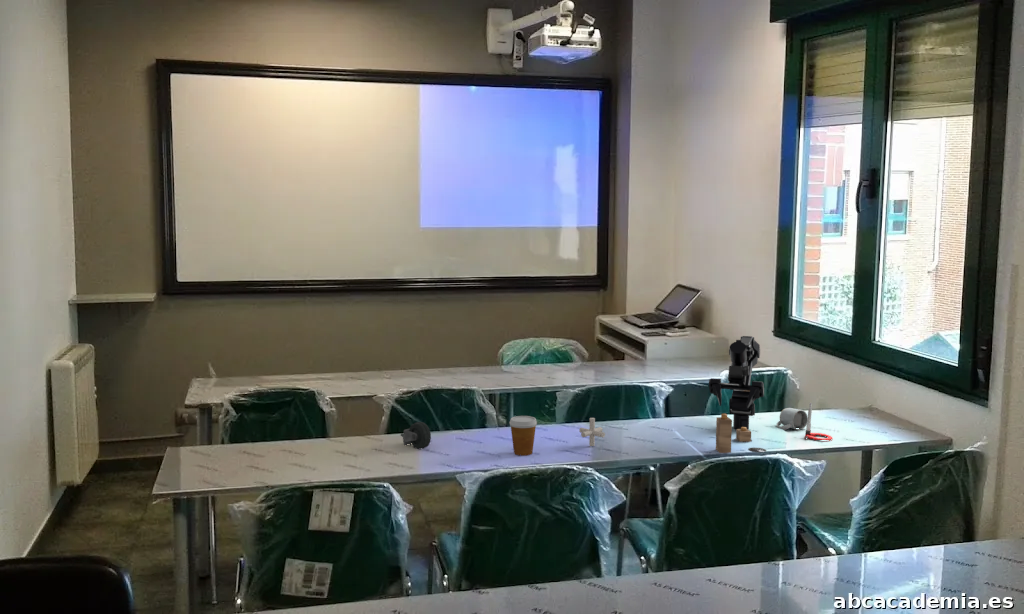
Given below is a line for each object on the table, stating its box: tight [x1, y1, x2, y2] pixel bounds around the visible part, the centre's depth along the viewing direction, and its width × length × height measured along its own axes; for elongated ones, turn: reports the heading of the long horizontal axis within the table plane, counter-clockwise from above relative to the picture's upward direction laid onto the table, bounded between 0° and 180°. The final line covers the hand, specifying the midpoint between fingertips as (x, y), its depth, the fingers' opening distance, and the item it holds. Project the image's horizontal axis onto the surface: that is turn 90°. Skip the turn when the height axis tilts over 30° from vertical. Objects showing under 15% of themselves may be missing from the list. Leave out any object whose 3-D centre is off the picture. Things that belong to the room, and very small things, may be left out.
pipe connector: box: [579, 417, 606, 447], centre depth 310 cm, size 10×10×10 cm
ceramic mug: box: [776, 407, 808, 431], centre depth 335 cm, size 11×8×8 cm
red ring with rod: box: [804, 402, 833, 441], centre depth 320 cm, size 8×13×9 cm
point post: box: [715, 413, 733, 454], centre depth 301 cm, size 4×4×14 cm
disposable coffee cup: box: [508, 415, 538, 456], centre depth 301 cm, size 10×10×12 cm
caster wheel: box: [400, 421, 432, 449], centre depth 310 cm, size 6×10×15 cm
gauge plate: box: [734, 438, 767, 453], centre depth 309 cm, size 21×11×1 cm, turn 6°
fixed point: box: [735, 427, 752, 443], centre depth 315 cm, size 4×4×4 cm
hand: (733, 406), depth 307 cm, fingers open, 9 cm apart
